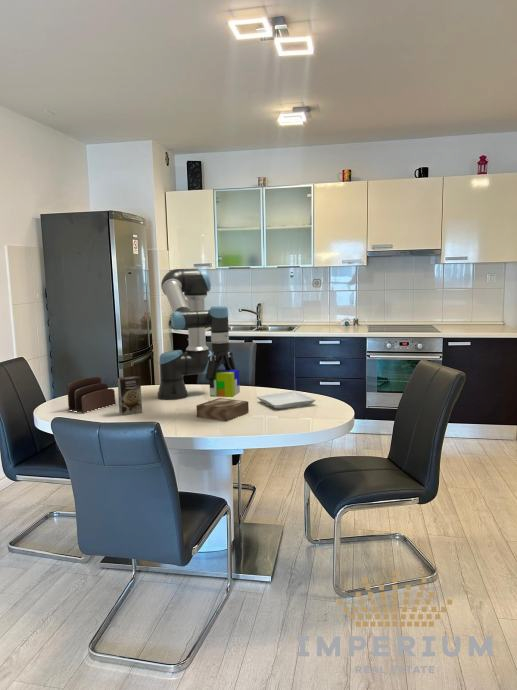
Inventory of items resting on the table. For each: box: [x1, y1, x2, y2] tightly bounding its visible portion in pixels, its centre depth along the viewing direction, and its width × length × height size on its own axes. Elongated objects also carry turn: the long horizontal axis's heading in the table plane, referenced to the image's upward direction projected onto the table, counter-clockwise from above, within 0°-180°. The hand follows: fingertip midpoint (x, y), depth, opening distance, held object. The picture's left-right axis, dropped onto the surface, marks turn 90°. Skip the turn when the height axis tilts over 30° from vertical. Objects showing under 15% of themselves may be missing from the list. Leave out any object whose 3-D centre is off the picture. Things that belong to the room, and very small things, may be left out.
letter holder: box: [66, 376, 117, 414], centre depth 241 cm, size 10×20×14 cm, turn 149°
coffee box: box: [117, 375, 143, 416], centre depth 229 cm, size 9×6×16 cm
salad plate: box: [256, 390, 316, 410], centre depth 238 cm, size 21×21×3 cm
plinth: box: [196, 397, 250, 422], centre depth 221 cm, size 16×16×5 cm
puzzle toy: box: [209, 369, 241, 398], centre depth 219 cm, size 10×10×10 cm
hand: (222, 392), depth 220 cm, fingers closed on puzzle toy, 11 cm apart
